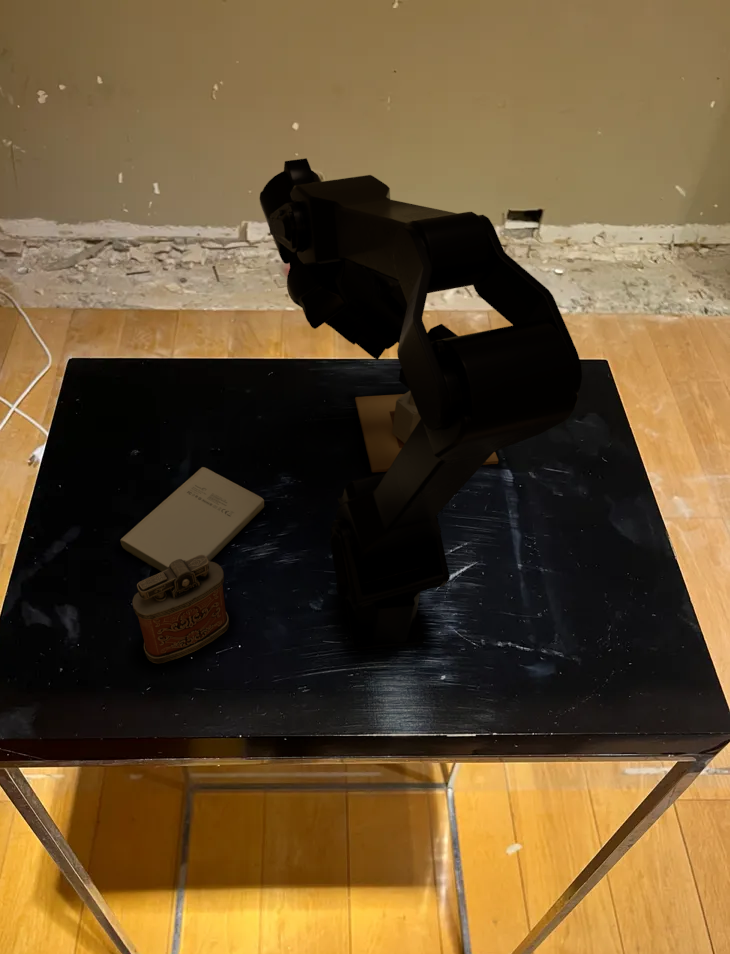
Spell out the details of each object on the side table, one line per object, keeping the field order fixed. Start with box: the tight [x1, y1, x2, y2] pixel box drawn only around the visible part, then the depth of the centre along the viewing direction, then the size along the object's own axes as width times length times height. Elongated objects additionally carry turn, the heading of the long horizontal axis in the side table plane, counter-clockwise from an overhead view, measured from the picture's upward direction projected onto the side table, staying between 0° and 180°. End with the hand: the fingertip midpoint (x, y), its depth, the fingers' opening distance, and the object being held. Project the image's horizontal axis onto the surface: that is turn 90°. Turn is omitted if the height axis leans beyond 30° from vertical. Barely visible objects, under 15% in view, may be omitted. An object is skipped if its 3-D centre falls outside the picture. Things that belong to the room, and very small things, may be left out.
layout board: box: [354, 393, 499, 473], centre depth 93 cm, size 12×14×1 cm
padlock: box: [392, 390, 421, 443], centre depth 89 cm, size 7×4×10 cm, turn 127°
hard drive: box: [120, 466, 265, 572], centre depth 82 cm, size 2×8×12 cm
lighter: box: [132, 555, 230, 664], centre depth 71 cm, size 8×3×10 cm, turn 123°
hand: (425, 354), depth 84 cm, fingers open, 9 cm apart
